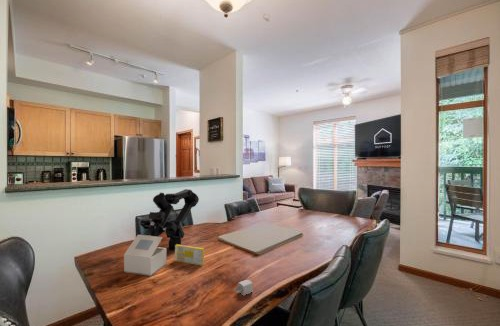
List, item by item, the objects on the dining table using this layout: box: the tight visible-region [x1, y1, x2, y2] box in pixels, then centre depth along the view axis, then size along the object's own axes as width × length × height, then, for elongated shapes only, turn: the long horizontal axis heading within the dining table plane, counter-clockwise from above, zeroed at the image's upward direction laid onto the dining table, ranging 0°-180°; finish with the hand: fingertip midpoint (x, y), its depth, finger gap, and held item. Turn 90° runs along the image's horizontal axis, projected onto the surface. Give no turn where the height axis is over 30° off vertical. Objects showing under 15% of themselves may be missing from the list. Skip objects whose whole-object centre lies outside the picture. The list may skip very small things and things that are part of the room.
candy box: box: [174, 244, 205, 267], centre depth 116 cm, size 16×2×8 cm, turn 71°
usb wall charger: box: [233, 279, 254, 297], centre depth 90 cm, size 4×7×4 cm, turn 125°
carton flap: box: [123, 234, 163, 258], centre depth 108 cm, size 11×14×1 cm
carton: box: [123, 246, 167, 277], centre depth 110 cm, size 12×14×8 cm
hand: (150, 241), depth 113 cm, fingers closed
